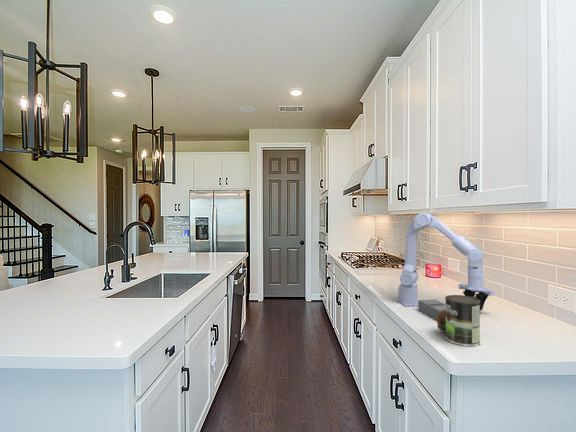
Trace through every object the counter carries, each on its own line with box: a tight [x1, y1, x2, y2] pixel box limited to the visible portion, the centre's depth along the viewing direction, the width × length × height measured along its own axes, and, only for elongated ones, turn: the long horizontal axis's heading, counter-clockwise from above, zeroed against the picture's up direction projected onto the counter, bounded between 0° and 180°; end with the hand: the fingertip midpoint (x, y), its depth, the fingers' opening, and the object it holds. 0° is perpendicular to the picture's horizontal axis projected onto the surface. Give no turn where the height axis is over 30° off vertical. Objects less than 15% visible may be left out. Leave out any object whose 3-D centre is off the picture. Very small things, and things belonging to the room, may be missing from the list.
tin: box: [436, 309, 446, 334], centre depth 115 cm, size 15×3×8 cm, turn 105°
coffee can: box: [444, 294, 481, 348], centre depth 107 cm, size 10×10×14 cm
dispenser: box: [417, 298, 446, 321], centre depth 133 cm, size 9×16×4 cm, turn 6°
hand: (475, 308), depth 135 cm, fingers open, 3 cm apart
